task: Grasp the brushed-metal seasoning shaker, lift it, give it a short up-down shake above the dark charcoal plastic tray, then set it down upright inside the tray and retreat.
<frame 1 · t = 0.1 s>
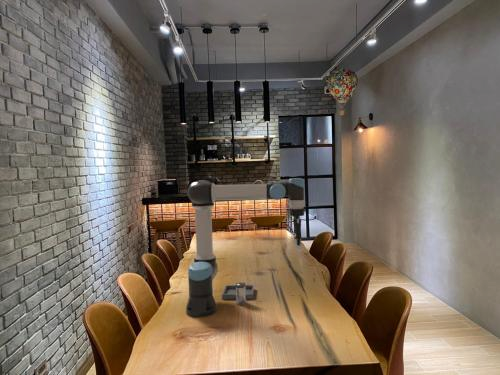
hand: (297, 248, 193), 28 cm above the table, fingers open, 13 cm apart
tray: (238, 294, 207), on the table
shaker: (241, 303, 193), on the table
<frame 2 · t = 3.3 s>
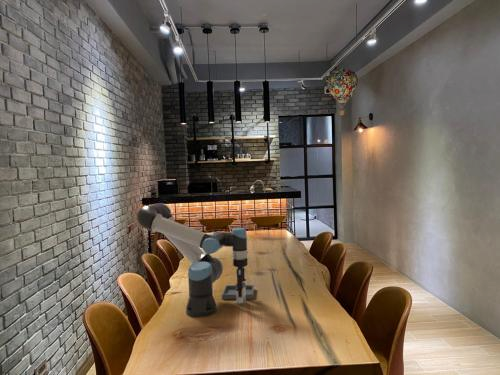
hand: (241, 298, 193), 3 cm above the table, fingers open, 13 cm apart
nothing on the table moved.
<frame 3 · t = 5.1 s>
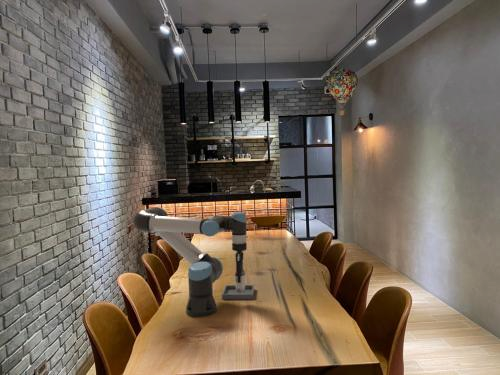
hand: (239, 286, 193), 9 cm above the table, fingers closed on shaker, 5 cm apart
shaker: (240, 291, 193), point 6 cm above the table, touching gripper
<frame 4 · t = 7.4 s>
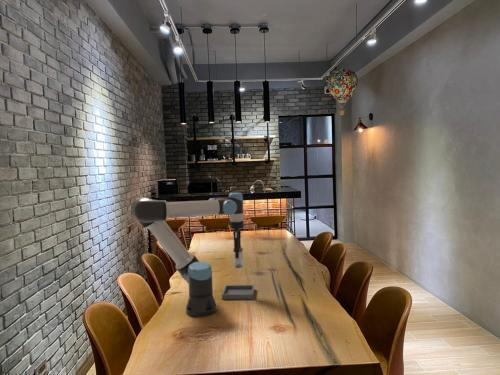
hand: (238, 262, 206), 18 cm above the table, fingers closed on shaker, 5 cm apart
shaker: (238, 266, 206), point 16 cm above the table, touching gripper
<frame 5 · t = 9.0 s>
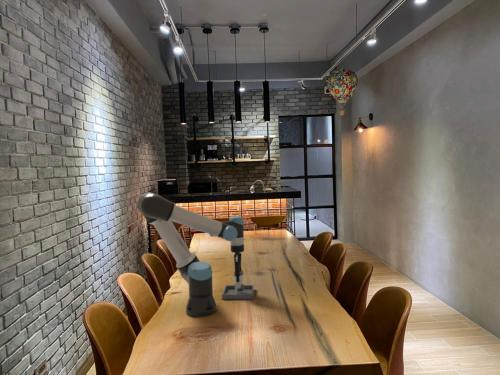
hand: (238, 285, 207), 5 cm above the table, fingers closed on shaker, 5 cm apart
shaker: (239, 290, 207), point 2 cm above the table, touching gripper
when the fingers open (2 cm above the table, at t = 9.8 s): shaker stays where it is, resting on tray.
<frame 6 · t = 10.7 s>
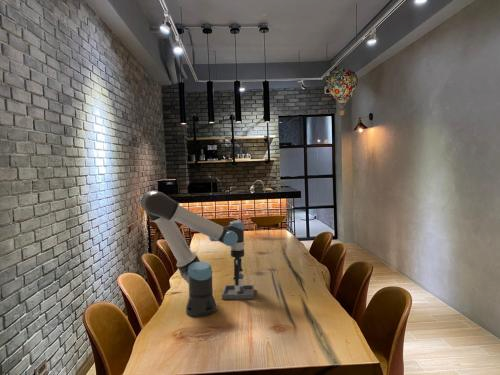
hand: (238, 286, 206), 4 cm above the table, fingers open, 13 cm apart
shaker: (239, 293, 207), point 1 cm above the table, touching tray
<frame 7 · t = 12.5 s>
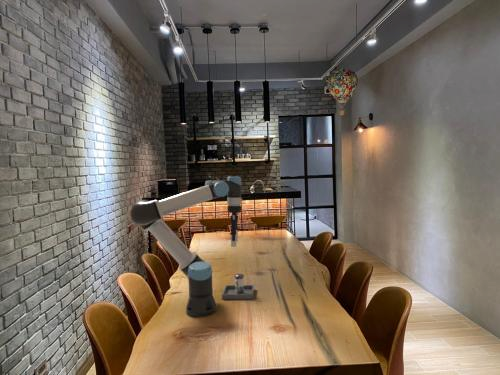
hand: (234, 244, 201), 29 cm above the table, fingers open, 13 cm apart
nothing on the table moved.
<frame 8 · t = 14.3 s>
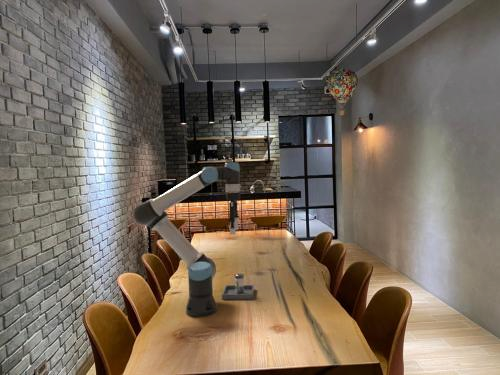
hand: (234, 232, 195), 37 cm above the table, fingers open, 13 cm apart
nothing on the table moved.
at the end: shaker inside the target area on the tray (0.5 cm from its centre), point 0.7 cm above the tray's base; shaker tilted 2°; the gripper is holding nothing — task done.
